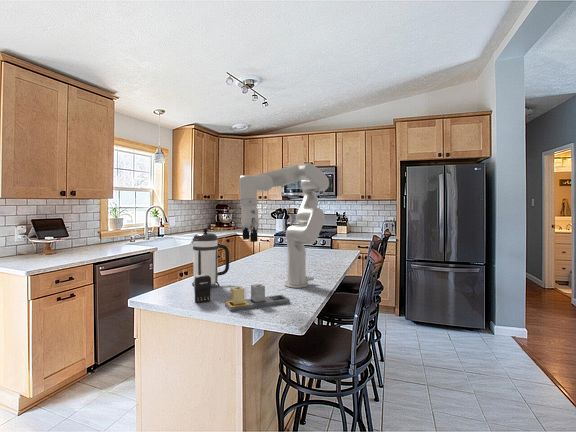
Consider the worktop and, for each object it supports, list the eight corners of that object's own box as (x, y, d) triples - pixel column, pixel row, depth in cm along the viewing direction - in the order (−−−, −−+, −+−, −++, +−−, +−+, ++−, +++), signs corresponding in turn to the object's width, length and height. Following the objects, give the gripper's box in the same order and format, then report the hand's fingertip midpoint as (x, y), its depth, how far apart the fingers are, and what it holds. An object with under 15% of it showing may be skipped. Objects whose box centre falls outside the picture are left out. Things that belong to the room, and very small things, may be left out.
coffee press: (212, 291, 156) (212, 229, 155) (184, 288, 161) (184, 228, 160) (229, 283, 172) (229, 227, 171) (204, 280, 177) (203, 226, 176)
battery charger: (195, 304, 135) (195, 277, 135) (193, 301, 139) (193, 275, 138) (212, 301, 139) (212, 275, 138) (210, 299, 142) (209, 273, 142)
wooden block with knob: (240, 305, 134) (240, 285, 134) (244, 308, 130) (244, 288, 130) (230, 306, 132) (230, 287, 132) (233, 309, 128) (233, 289, 128)
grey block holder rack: (281, 298, 144) (281, 294, 144) (289, 303, 137) (289, 298, 137) (225, 305, 133) (225, 301, 133) (230, 311, 126) (230, 307, 126)
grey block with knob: (260, 302, 138) (260, 283, 138) (264, 305, 134) (264, 286, 134) (251, 303, 136) (251, 284, 136) (254, 306, 132) (254, 287, 132)
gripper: (263, 202, 139) (265, 241, 140) (249, 202, 154) (250, 237, 155) (247, 203, 136) (249, 243, 137) (234, 203, 151) (236, 239, 152)
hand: (250, 240), depth 146 cm, fingers open, 9 cm apart
